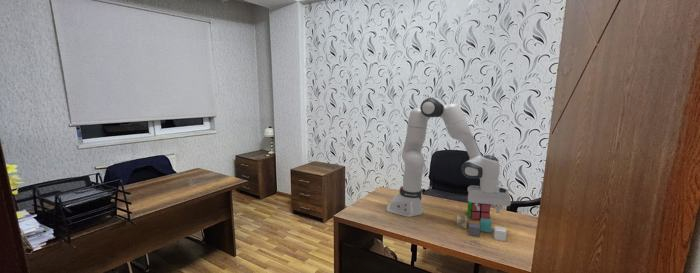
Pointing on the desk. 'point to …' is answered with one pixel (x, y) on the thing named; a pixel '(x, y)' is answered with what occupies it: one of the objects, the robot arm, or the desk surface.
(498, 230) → the offwhite cube
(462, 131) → the robot arm
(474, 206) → the puzzle cube
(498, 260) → the desk surface
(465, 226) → the birch cube
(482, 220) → the teal cube
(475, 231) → the charcoal cube
